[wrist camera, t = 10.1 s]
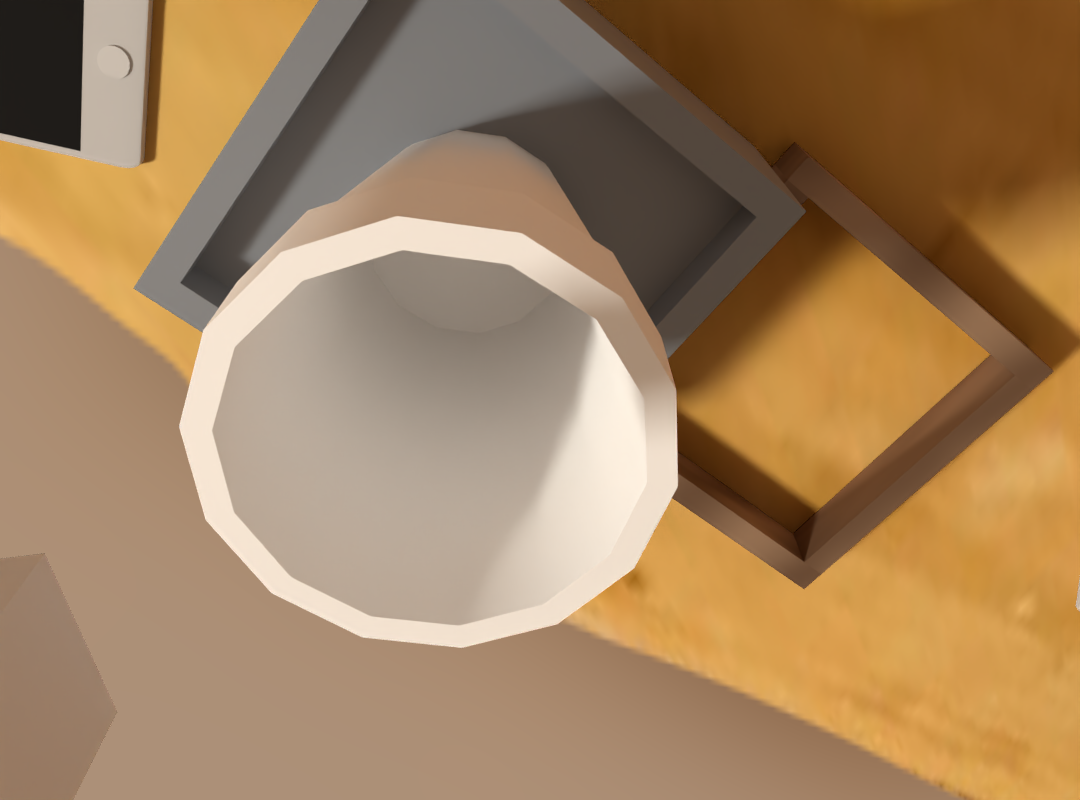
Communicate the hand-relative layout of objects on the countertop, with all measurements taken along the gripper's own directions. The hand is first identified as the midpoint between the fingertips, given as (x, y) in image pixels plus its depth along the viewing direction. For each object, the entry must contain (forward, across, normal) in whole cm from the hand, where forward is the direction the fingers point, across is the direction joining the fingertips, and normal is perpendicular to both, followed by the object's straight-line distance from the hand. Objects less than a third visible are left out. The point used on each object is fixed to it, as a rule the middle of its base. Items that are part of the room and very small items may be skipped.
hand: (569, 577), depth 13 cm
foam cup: (+19, +3, +1) cm, 20 cm away
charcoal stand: (+25, +3, +1) cm, 25 cm away
